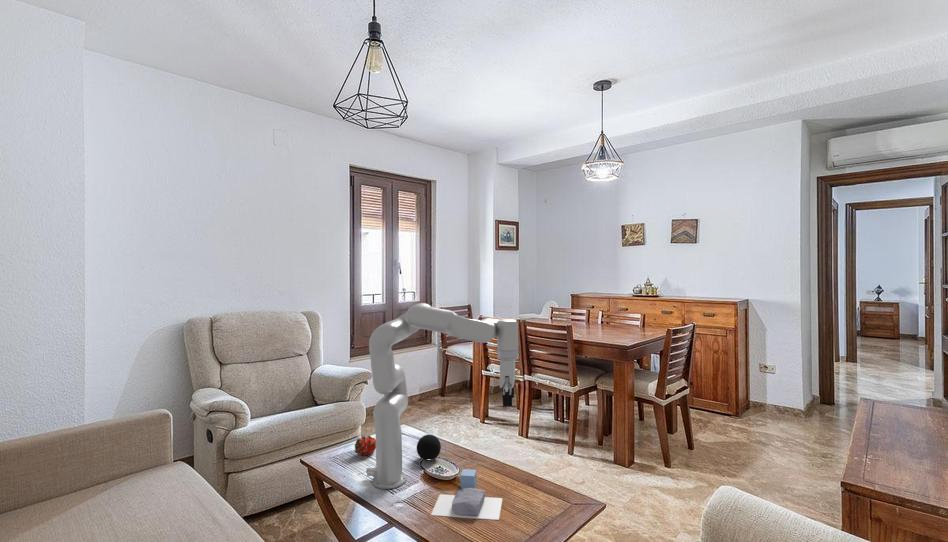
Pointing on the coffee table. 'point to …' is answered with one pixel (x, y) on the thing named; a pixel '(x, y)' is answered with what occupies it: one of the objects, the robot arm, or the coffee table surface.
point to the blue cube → (468, 478)
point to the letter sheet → (488, 511)
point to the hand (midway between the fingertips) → (508, 401)
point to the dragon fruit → (365, 446)
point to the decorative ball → (428, 447)
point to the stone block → (468, 501)
